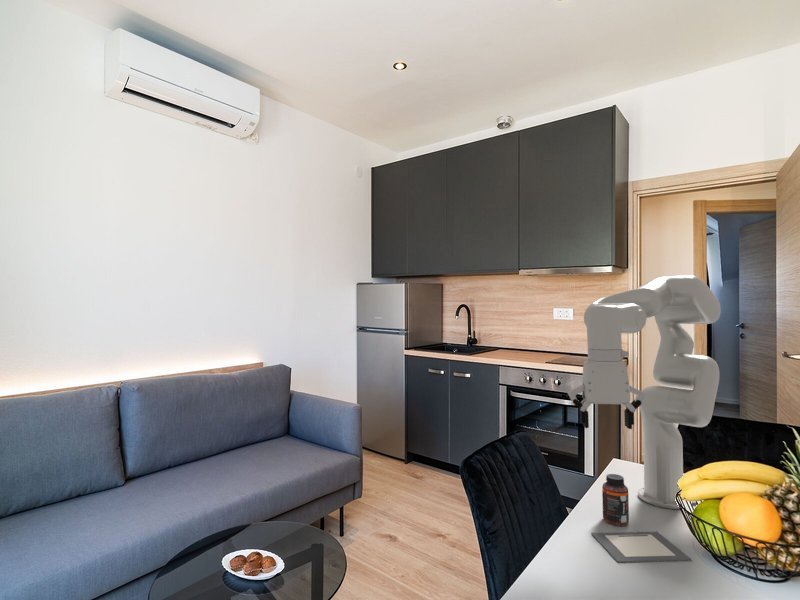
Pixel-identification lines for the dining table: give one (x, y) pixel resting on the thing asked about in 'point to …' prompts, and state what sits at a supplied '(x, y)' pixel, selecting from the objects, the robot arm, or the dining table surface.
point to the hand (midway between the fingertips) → (606, 427)
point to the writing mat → (640, 547)
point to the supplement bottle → (615, 500)
